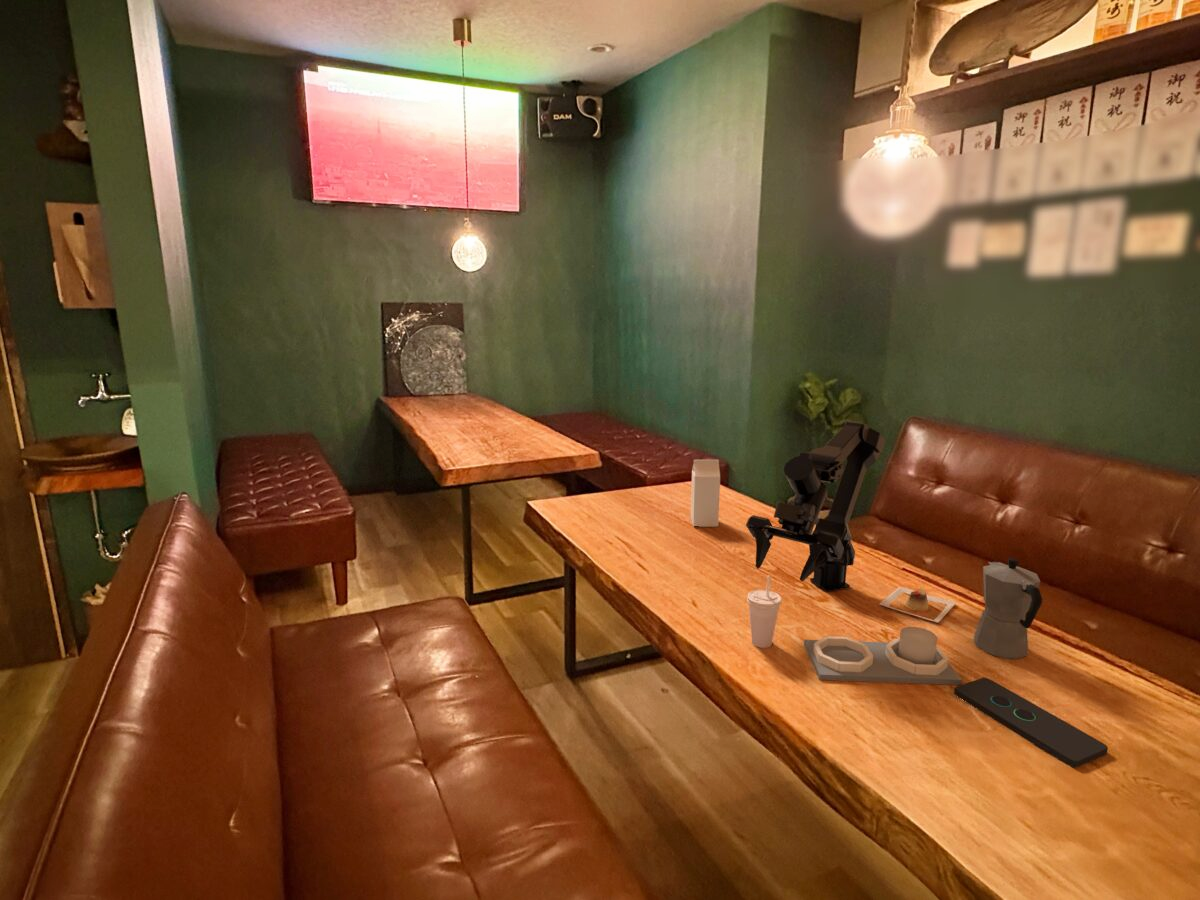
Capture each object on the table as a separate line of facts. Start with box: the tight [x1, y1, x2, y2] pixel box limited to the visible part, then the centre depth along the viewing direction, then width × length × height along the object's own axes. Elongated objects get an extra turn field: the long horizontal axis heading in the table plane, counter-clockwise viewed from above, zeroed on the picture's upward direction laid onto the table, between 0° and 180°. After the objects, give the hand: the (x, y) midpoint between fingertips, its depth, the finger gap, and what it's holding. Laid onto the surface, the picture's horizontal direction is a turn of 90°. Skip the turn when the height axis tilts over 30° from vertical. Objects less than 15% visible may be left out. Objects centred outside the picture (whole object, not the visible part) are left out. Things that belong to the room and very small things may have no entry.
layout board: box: [803, 626, 963, 686], centre depth 122 cm, size 24×12×6 cm, turn 86°
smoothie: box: [746, 574, 782, 649], centre depth 128 cm, size 6×6×14 cm
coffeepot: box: [973, 557, 1043, 660], centre depth 125 cm, size 15×9×18 cm, turn 0°
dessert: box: [878, 586, 957, 624], centre depth 144 cm, size 12×12×5 cm
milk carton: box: [690, 459, 721, 528], centre depth 193 cm, size 7×7×19 cm
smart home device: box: [953, 677, 1109, 769], centre depth 106 cm, size 8×2×20 cm
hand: (778, 573), depth 131 cm, fingers open, 9 cm apart
